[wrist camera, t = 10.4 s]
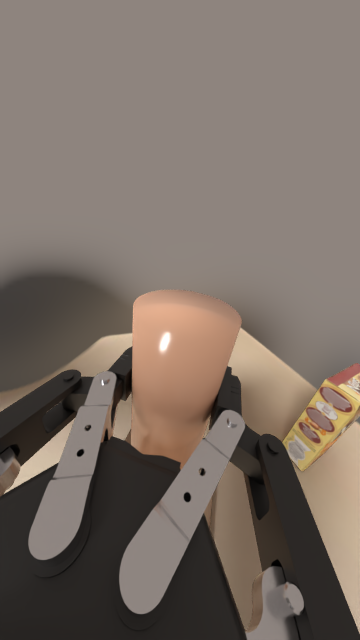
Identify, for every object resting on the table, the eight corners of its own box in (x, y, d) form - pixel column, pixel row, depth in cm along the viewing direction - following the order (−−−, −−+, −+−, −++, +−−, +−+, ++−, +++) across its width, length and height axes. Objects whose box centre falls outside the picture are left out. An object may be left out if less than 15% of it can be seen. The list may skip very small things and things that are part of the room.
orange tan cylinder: (117, 470, 14) (109, 318, 8) (147, 408, 19) (157, 283, 12) (188, 500, 13) (243, 354, 7) (201, 426, 18) (240, 301, 12)
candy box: (302, 473, 27) (366, 406, 20) (277, 445, 30) (325, 377, 23) (331, 446, 31) (394, 382, 24) (307, 424, 34) (355, 361, 27)
